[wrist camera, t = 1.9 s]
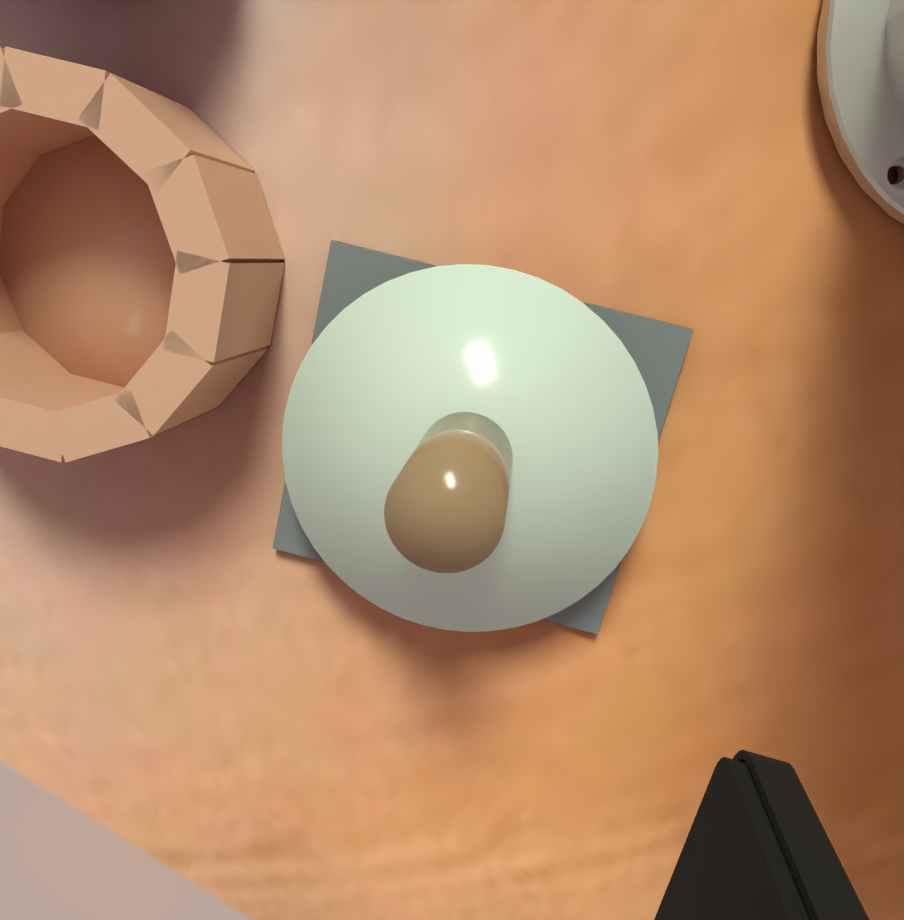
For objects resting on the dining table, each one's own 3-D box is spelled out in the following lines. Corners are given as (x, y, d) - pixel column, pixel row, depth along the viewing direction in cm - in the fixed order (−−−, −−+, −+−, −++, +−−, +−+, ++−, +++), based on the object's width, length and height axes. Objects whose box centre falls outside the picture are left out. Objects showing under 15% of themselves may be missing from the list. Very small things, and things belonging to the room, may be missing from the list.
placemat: (690, 328, 26) (693, 329, 26) (596, 629, 29) (597, 634, 28) (334, 240, 27) (331, 240, 26) (276, 544, 29) (272, 548, 29)
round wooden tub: (307, 135, 26) (254, 106, 21) (250, 457, 29) (192, 496, 24) (-17, 57, 26) (-141, 11, 21) (-41, 381, 29) (-156, 405, 24)
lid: (698, 314, 26) (765, 337, 18) (593, 647, 29) (613, 784, 21) (334, 224, 26) (251, 209, 19) (270, 560, 29) (176, 665, 22)
